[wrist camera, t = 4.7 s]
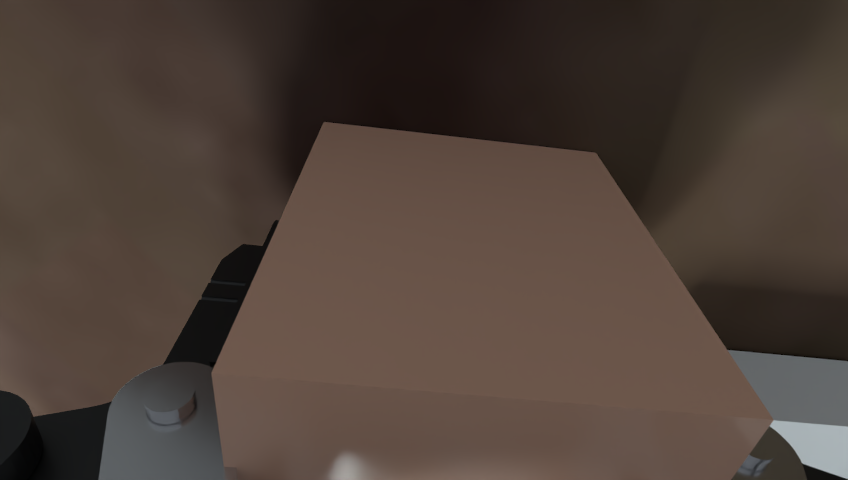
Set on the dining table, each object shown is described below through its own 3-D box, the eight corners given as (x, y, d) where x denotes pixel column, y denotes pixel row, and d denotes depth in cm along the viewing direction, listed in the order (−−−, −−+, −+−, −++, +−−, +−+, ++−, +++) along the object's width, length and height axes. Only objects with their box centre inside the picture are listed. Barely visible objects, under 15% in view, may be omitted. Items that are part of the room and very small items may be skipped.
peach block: (323, 121, 10) (211, 373, 5) (596, 152, 10) (774, 420, 5) (319, 330, 12) (246, 633, 7) (533, 349, 13) (607, 652, 8)
